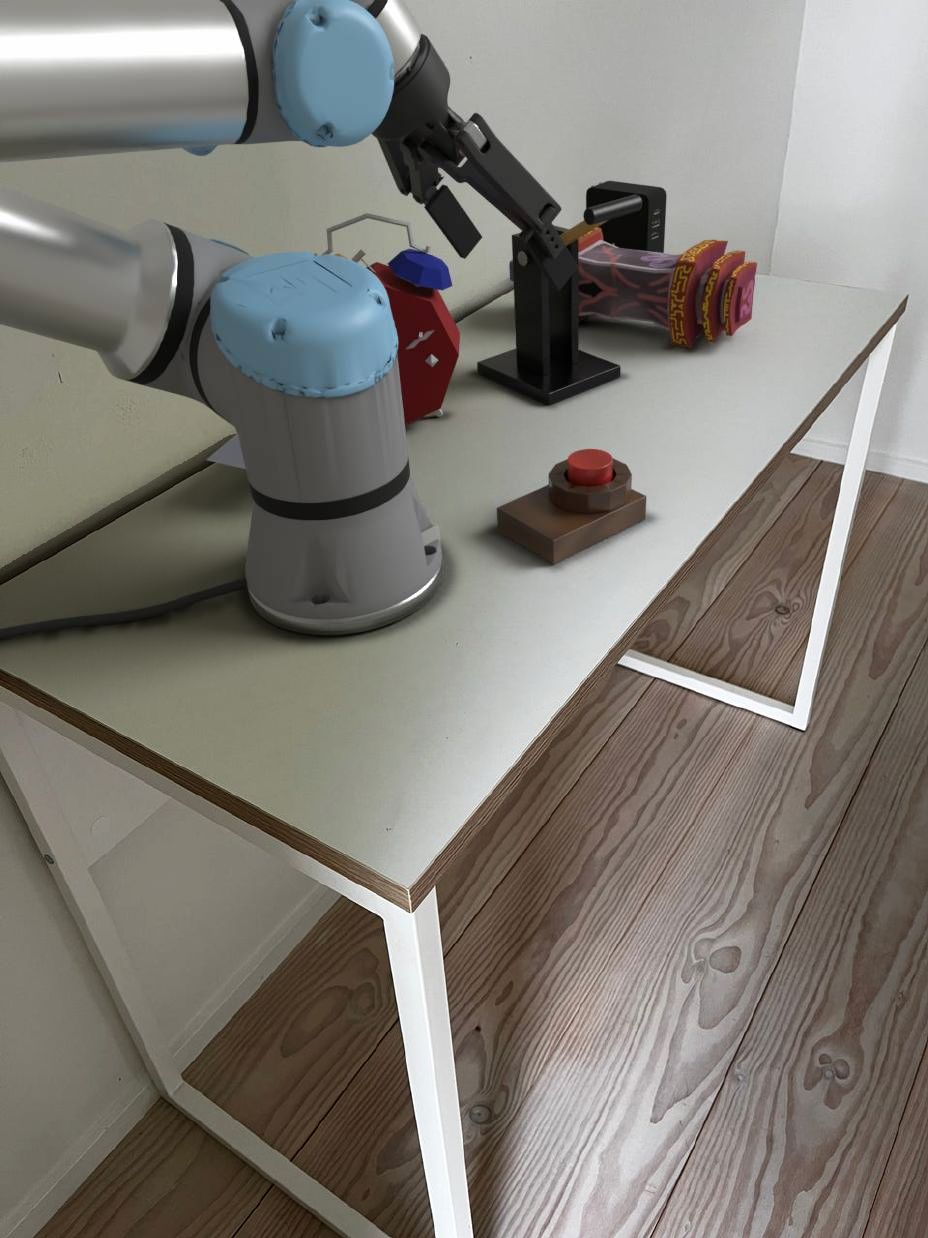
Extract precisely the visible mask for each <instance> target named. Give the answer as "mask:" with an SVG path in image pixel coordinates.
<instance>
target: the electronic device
mask: <svg viewBox="0 0 928 1238" xmlns="http://www.w3.org/2000/svg"><path fill="white" fill-rule="evenodd" d="M632 195H638V196H640V198H641V200H642V207H641V209H640V210H639V211H637V212H633V213H630V214H627V215H623V216H620V217H616V218H613V219H610V220H608V221H606V222H605V223H603V224H602V225H600V226H598V228H601V230H602V234H603V241H605V242H607V243H609V244H613V243H614V245H615V246H616V247H618V248H623V249H631V250H640V251H649V252H657V253H665V240H666V239H665V237H666V220H667V219H666V217H667V215H666V214H667V191H666V189H665V188H663V187H661V186H655V185H648V184H647V185H645V184H641V183H640V184H639V183H631V182H625V181H615V180H606V181H604V182H602V181H600V182H598V184H596V185H595V184H592V185H590V187H588V188H587V189H586V192H585V210H586V209H587V208H590V207H594V206H597V205H601V204H604V203H608V202H611V201H615V200H618V199H622V198H625V197H629V196H632Z"/></svg>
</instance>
